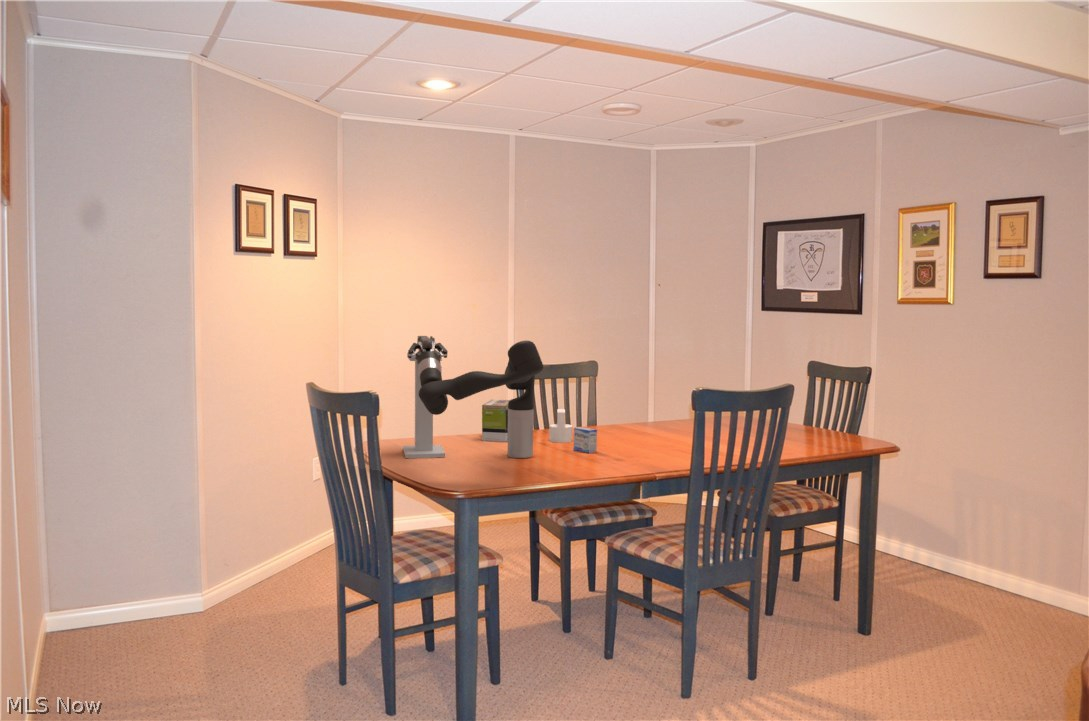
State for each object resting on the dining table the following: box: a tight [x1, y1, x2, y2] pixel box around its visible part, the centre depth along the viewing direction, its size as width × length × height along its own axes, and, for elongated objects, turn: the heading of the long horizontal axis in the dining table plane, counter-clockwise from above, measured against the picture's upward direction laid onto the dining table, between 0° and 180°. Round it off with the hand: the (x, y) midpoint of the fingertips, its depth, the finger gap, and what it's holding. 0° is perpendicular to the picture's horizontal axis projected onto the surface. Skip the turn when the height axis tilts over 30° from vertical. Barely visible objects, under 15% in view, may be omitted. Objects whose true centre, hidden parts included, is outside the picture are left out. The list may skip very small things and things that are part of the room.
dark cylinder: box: [417, 335, 432, 348], centre depth 303 cm, size 27×3×2 cm, turn 13°
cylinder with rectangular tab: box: [548, 408, 573, 444], centre depth 344 cm, size 9×9×12 cm
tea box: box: [481, 399, 511, 443], centre depth 347 cm, size 15×10×15 cm, turn 168°
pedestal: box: [402, 352, 446, 459], centre depth 313 cm, size 16×14×36 cm
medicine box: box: [573, 426, 598, 454], centre depth 324 cm, size 8×4×9 cm, turn 47°
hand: (425, 338), depth 299 cm, fingers closed on dark cylinder, 3 cm apart
